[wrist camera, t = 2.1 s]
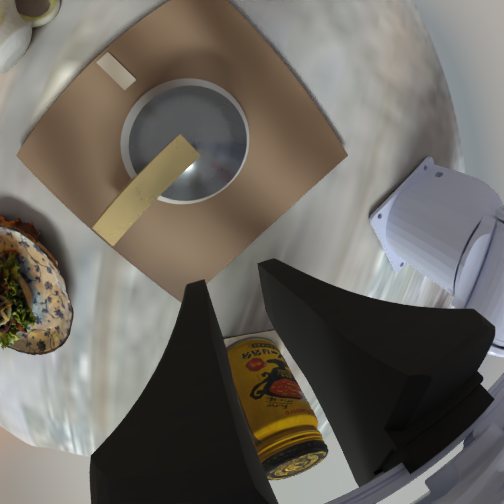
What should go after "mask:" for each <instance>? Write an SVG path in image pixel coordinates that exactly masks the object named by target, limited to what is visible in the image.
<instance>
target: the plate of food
mask: <svg viewBox="0 0 504 504" xmlns="http://www.w3.org/2000/svg"><path fill="white" fill-rule="evenodd" d="M40 231H41V230H40ZM39 235H40V232H39V233H38V234H37V232H36V230H35V228H34V227H33V224H32V223H31V224H29V223H20V218H18V219H17V220H16V221H10V222H7V221H5V220H4V217H3V216H2V215H0V344H1V345H2V346H1V347H2V348H3V349H4V347H5V348H6V347H8V348H11V349H14V350H16V351H18V352H21V353H26V354H31V355H36V354H39V355H42V354H47V353H50V352H53V351H55V350H56V349H57V348H59V347H61V346H62V345H63V344H64V343H65V342H66V340H67V338H68V336H69V335H70V330H71V326H72V321H73V313H74V312H73V308H72V305H71V302H70V299H69V295H68V292H67V288H66V283H65V280H64V277H63V276H62V275H61V272H60V270H59V268H58V262H57V261H56V259H55V258H54V257H53V255H52V254H51V253H50V252H49V251H48V250H47V249H46V248H45V247H44V246H43V245H42V244H41V242H39V240H38V237H39Z"/></svg>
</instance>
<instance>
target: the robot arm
mask: <svg viewBox="0 0 504 504" xmlns="http://www.w3.org/2000/svg"><path fill="white" fill-rule="evenodd" d="M378 214H379V216H378ZM369 221H370V224H371V226H372V228H373V229H374V231H375V233H376V235H377V237H378V239H379V241H380V243H381V245H382V247H383V249H384V251H385V253H386V255H387V257H388V259H389V261H390V263H391V266H392V268H393V270H394V271H395V272H399V271H400V270H401V269H402V268H403V267H404V266H405V265H406V264H407V263H408V264H410V265H411V266H413V267H414V268H415V269H417V270H418V271H420V272H421V273H423V274H424V275H425V276H427V277H428V278H429V279H431V280H432V281H434V282H435V283H436V284H438V285H439V286H440V287H442V288H443V289H444V290H446V291H447V292H448V293H450V294H451V295H452V296H454V298H453V301H452V305H453V306H454V307H455V308H456V309H442V308H428V307H418V306H410V305H403V304H398V303H392V302H387V301H382V300H378V299H374V298H370V297H367V296H363V295H360V294H356V293H353V292H350V291H347V290H344V289H341V288H339V287H336V286H333V285H331V284H328V283H326V282H323V281H321V280H319V279H316V278H314V277H312V276H310V275H308V274H305V273H303V272H301V271H299V270H297V269H295V268H293V267H291V266H289V265H287V264H285V263H283V262H281V261H279V260H277V259H270V260H267V261H264V262H260V263H257V264H258V270H259V275H260V281H261V286H262V292H263V298H264V303H265V309H266V311H267V314H268V316H269V318H270V320H271V322H272V324H273V326H274V329H275V331H276V332H277V334H278V336H279V337H280V339H281V340H282V342H283V343H284V345H285V347H286V348H287V350H288V351H289V353H290V354H291V356H292V357H293V359H294V360H295V362H296V363H297V365H298V366H299V368H300V370H301V371H302V373H303V374H304V376H305V377H306V379H307V381H308V382H309V384H310V386H311V387H312V389H313V391H314V393H315V395H316V397H317V399H318V401H319V403H320V405H321V407H322V409H323V411H324V413H325V415H326V417H327V419H328V421H329V423H330V425H331V427H332V429H333V432H334V434H335V436H336V438H337V440H338V442H339V444H340V446H341V449H342V451H343V453H344V455H345V458H346V460H347V462H348V464H349V467H350V469H351V471H352V474H353V476H354V478H355V481H356V483H357V484H358V486H359V488H357V489H355V490H353V491H351V492H349V493H347V494H345V495H343V496H341V497H339V498H337V499H334V500H332V501H330V502H328V503H325V504H376V503H377V502H379V501H381V500H383V499H384V498H386V497H388V496H389V495H391V494H392V493H394V492H396V491H397V490H399V489H400V488H402V487H404V486H405V485H407V484H408V483H410V482H411V481H412V480H414V479H415V478H417V477H418V476H420V475H421V474H422V473H424V472H425V471H427V470H428V469H429V468H430V467H432V466H433V465H434V464H436V463H437V462H438V461H439V460H441V459H442V458H443V457H444V456H445V455H447V454H448V453H449V452H450V451H451V450H453V449H454V448H455V447H456V446H457V445H458V444H459V443H460V442H461V441H463V440H464V443H463V444H464V447H463V450H462V451H461V452H460V453H458V454H457V455H456V456H455V457H454V458H453V459H451V460H450V461H449V462H448V463H447V464H445V465H444V466H443V467H442V468H441V469H439V470H438V471H437V472H436V473H434V474H433V475H432V476H430V477H429V478H428V479H427V480H425V484H426V485H427V487H428V488H429V490H430V491H428V492H427V493H426V494H424V495H423V496H421V497H420V498H418V499H417V500H415V501H414V502H412V503H411V504H504V373H503V374H502V375H501V377H500V378H499V379H498V380H497V381H496V382H495V383H494V384H493V385H492V387H491V388H490V389H489V390H488V391H486V389H484V387H483V386H482V385H481V384H480V383H481V382H482V381H483V376H482V375H480V373H479V372H478V371H477V370H478V368H479V367H480V365H481V364H482V362H483V360H484V358H485V356H486V354H489V355H493V356H499V357H503V358H504V205H503V203H502V201H501V199H500V197H499V195H498V194H497V193H496V192H495V191H494V189H492V188H491V187H490V186H489V185H488V184H487V183H485V182H484V181H482V180H480V179H478V178H475V177H472V176H469V175H466V174H464V173H461V172H458V171H455V170H452V169H448V168H445V167H442V166H439V165H435V164H434V161H433V158H432V157H429V156H428V157H426V158H425V160H424V161H423V162H422V163H421V164H420V165H419V166H418V167H417V168H416V169H415V170H414V171H413V172H412V174H411V175H410V176H409V177H408V178H407V179H406V180H405V181H404V182H403V183H402V184H401V185H400V186H399V187H398V188H397V189H396V190H395V191H394V192H393V193H392V194H391V195H390V196H389V197H388V198H387V199H386V200H385V202H384V203H383V204H382V205H381V206H380V207H379V208H378V209H377V210H376V211H375V212H374V213H373V214H372V215H371V216H370V218H369ZM90 492H91V504H278V502H277V499H276V497H275V495H274V493H273V490H272V488H271V486H270V483H269V481H268V479H267V476H266V474H265V471H264V469H263V467H262V464H261V462H260V459H259V457H258V454H257V452H256V449H255V447H254V444H253V441H252V439H251V436H250V434H249V431H248V428H247V425H246V423H245V420H244V417H243V414H242V412H241V408H240V405H239V402H238V398H237V393H236V389H235V385H234V380H233V376H232V372H231V367H230V363H229V358H228V354H227V349H226V345H225V342H224V339H223V336H222V333H221V330H220V327H219V324H218V321H217V318H216V315H215V312H214V308H213V305H212V302H211V299H210V296H209V292H208V289H207V286H206V282H205V279H203V280H200V281H196V282H193V283H189V284H187V285H186V287H185V291H184V296H183V300H182V304H181V308H180V311H179V314H178V317H177V320H176V324H175V327H174V329H173V332H172V334H171V337H170V339H169V342H168V345H167V347H166V349H165V351H164V354H163V356H162V358H161V360H160V362H159V364H158V366H157V368H156V370H155V372H154V374H153V375H152V377H151V379H150V380H149V382H148V384H147V386H146V387H145V389H144V391H143V392H142V394H141V395H140V397H139V398H138V400H137V401H136V403H135V404H134V405H133V407H132V408H131V410H130V411H129V412H128V414H127V415H126V416H125V418H124V419H123V420H122V422H121V423H120V424H119V425H118V427H117V428H116V429H115V430H114V431H113V432H112V433H111V435H110V436H109V437H108V438H107V439H106V440H105V441H104V442H103V443H102V444H101V445H100V447H99V448H98V449H97V450H96V451H95V452H94V453H93V454H92V455H91V461H90Z"/></svg>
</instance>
